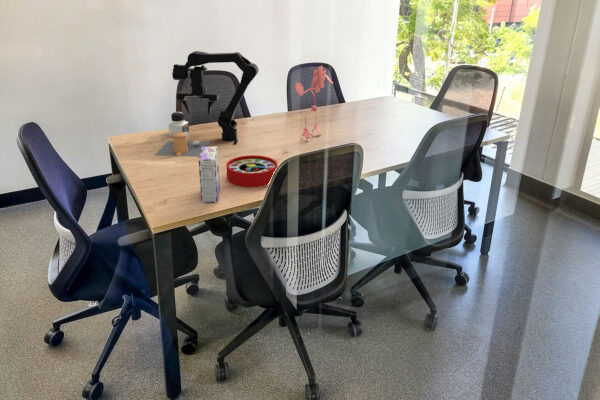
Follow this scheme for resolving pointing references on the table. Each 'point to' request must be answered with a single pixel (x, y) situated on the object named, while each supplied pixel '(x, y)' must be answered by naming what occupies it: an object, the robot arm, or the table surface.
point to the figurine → (317, 83)
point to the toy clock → (250, 170)
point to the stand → (193, 146)
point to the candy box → (209, 174)
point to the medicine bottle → (178, 123)
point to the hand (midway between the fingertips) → (199, 114)
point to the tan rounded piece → (180, 143)
